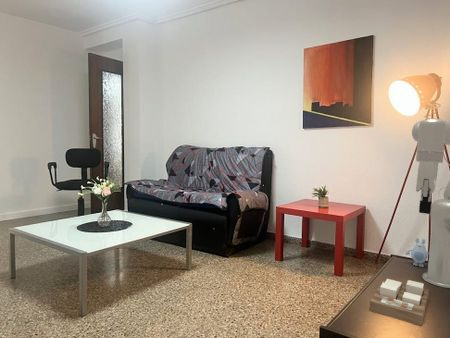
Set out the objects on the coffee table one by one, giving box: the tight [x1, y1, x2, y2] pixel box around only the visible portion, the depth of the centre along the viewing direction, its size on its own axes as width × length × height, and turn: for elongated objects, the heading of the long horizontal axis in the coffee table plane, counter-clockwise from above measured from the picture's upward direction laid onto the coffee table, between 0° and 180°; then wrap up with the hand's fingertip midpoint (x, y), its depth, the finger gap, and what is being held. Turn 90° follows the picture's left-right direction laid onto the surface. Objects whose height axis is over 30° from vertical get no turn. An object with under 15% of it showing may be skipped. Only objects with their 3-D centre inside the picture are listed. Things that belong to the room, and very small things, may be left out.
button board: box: [369, 278, 430, 327], centre depth 109 cm, size 22×14×4 cm, turn 145°
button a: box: [385, 278, 403, 291], centre depth 116 cm, size 5×5×3 cm
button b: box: [405, 279, 425, 296], centre depth 112 cm, size 5×5×3 cm
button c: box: [379, 282, 398, 299], centre depth 109 cm, size 5×5×3 cm
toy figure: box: [405, 237, 429, 268], centre depth 145 cm, size 11×6×12 cm, turn 56°
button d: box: [402, 292, 421, 306], centre depth 106 cm, size 5×5×3 cm
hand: (424, 212), depth 112 cm, fingers closed
